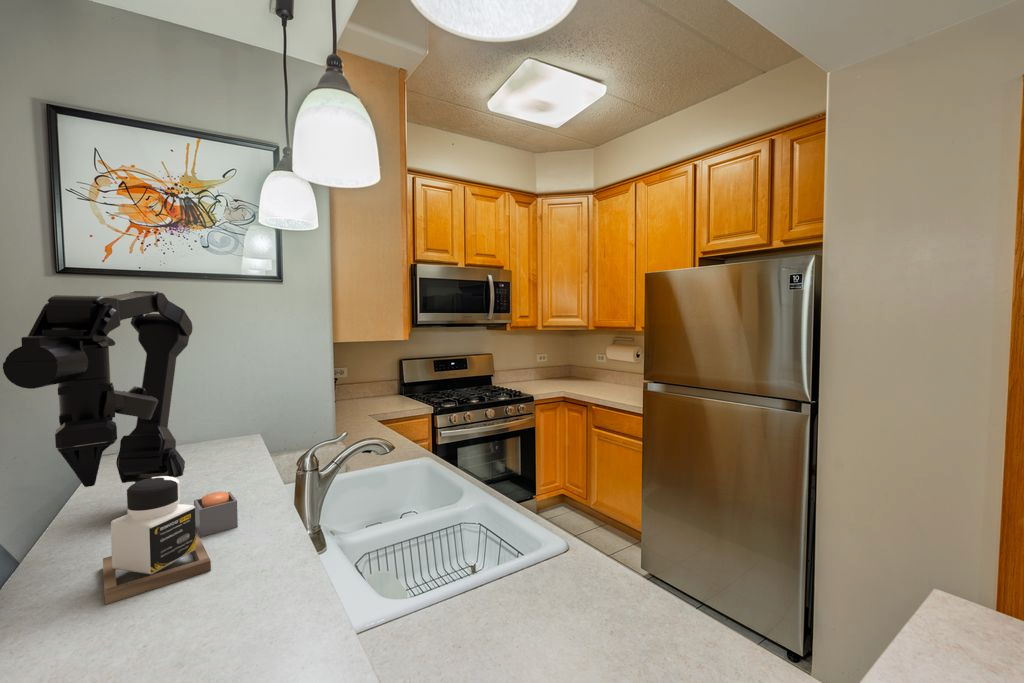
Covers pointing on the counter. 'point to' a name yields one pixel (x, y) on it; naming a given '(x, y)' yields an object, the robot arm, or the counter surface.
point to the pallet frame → (153, 576)
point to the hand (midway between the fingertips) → (89, 477)
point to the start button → (215, 499)
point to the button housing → (215, 517)
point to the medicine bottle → (153, 527)
